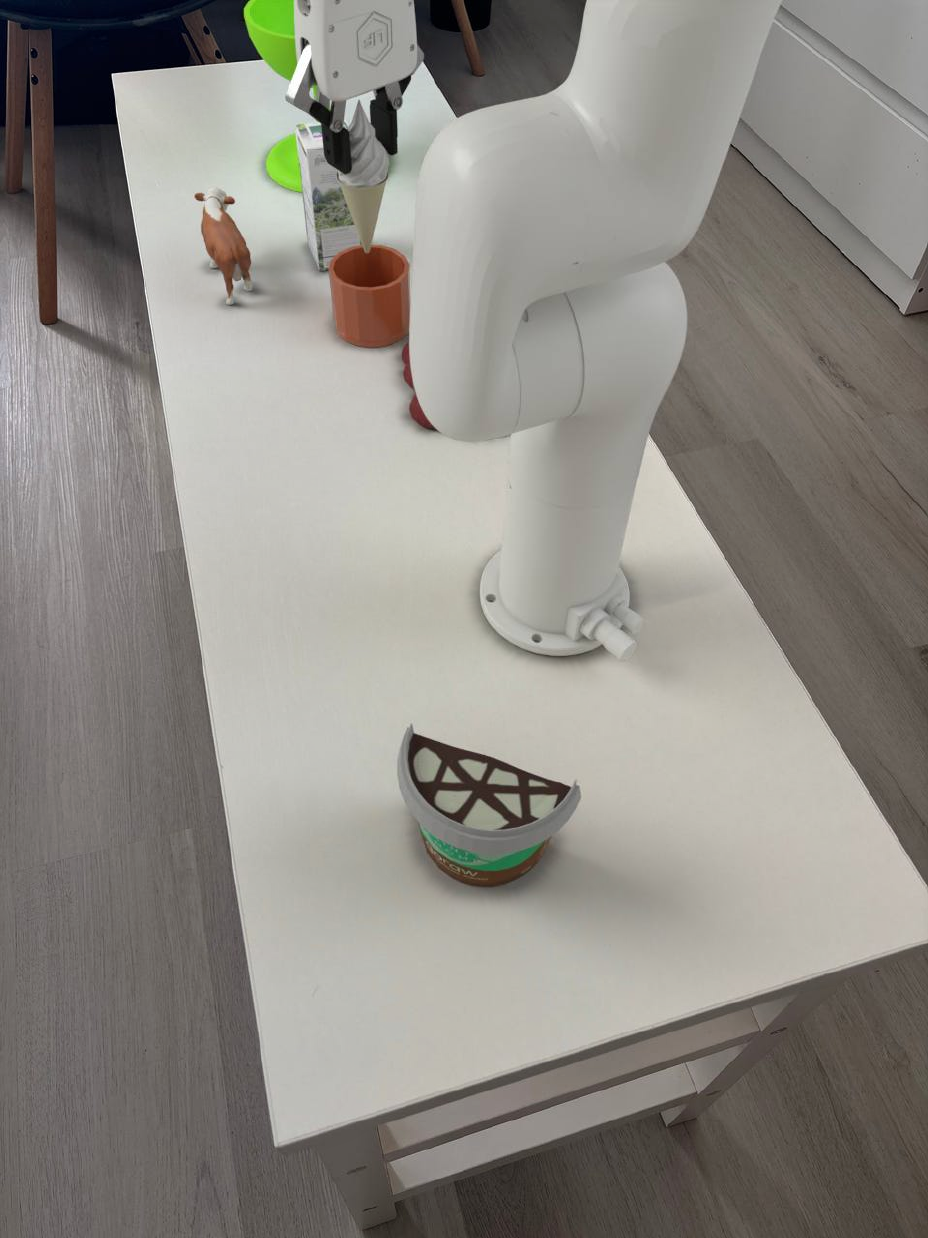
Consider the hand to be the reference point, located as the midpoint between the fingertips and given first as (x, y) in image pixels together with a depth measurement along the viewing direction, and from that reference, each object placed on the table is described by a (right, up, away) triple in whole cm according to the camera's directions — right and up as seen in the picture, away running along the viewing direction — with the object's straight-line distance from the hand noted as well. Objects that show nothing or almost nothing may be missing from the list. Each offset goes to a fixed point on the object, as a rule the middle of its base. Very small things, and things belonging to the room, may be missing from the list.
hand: (362, 156), depth 91 cm
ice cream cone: (0, -6, +8) cm, 10 cm away
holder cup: (0, -11, +15) cm, 18 cm away
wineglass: (-8, +16, +36) cm, 40 cm away
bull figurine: (-17, -5, +20) cm, 26 cm away
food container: (+10, -60, -23) cm, 65 cm away
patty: (+10, -19, +9) cm, 23 cm away
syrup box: (-5, -1, +23) cm, 23 cm away
